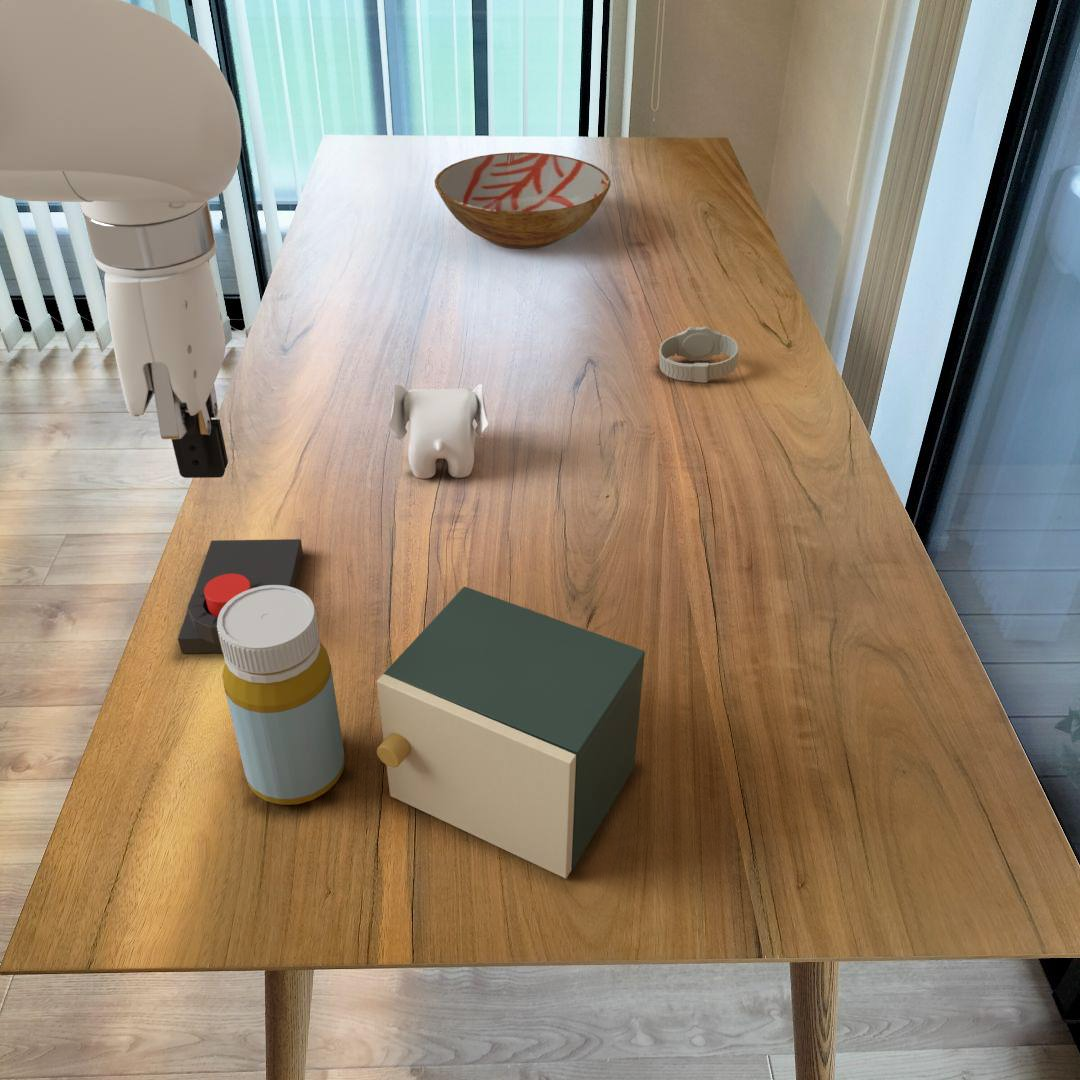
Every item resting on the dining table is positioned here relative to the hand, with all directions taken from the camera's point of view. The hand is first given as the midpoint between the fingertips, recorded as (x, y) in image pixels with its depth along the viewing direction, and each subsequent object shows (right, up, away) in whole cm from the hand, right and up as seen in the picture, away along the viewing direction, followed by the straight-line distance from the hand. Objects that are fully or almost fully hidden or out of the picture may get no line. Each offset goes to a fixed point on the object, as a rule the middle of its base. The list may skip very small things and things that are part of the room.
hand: (204, 471), depth 80 cm
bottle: (+7, -22, -2) cm, 23 cm away
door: (+20, -25, -7) cm, 33 cm away
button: (0, -10, +8) cm, 13 cm away
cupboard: (+23, -22, -2) cm, 32 cm away
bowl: (+22, +40, +79) cm, 91 cm away
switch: (-1, -10, +13) cm, 17 cm away
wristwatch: (+43, +14, +46) cm, 65 cm away
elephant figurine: (+15, +3, +31) cm, 35 cm away
